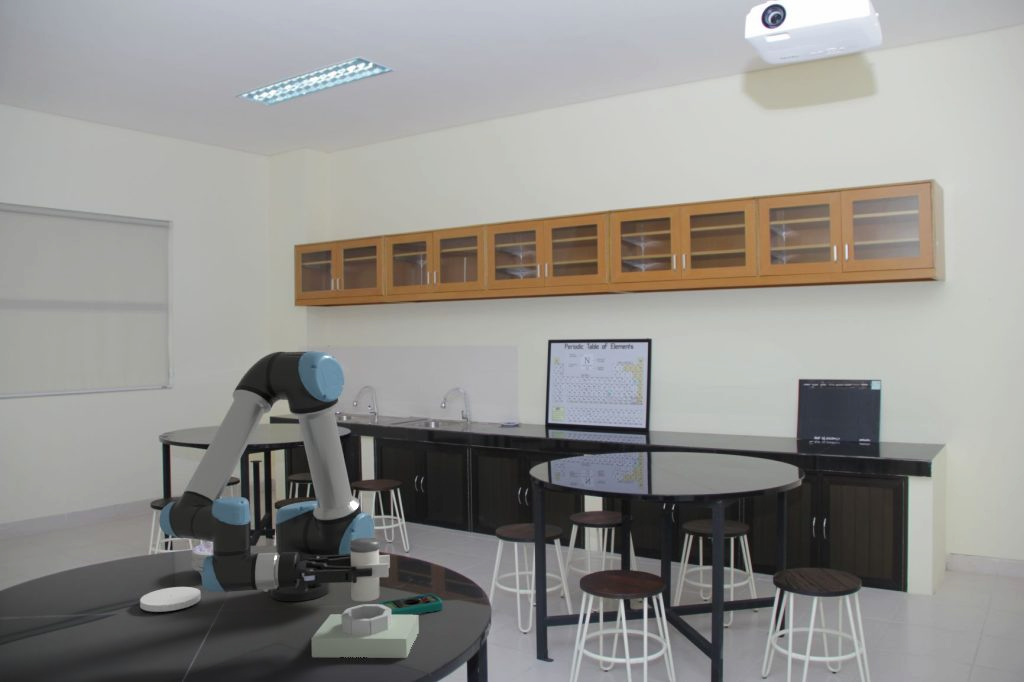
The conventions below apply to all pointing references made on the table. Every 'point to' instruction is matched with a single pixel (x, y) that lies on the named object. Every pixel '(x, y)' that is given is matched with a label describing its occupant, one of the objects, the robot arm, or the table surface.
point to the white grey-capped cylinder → (360, 555)
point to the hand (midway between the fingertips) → (388, 565)
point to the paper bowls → (200, 555)
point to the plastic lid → (170, 599)
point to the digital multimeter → (414, 604)
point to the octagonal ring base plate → (366, 633)
